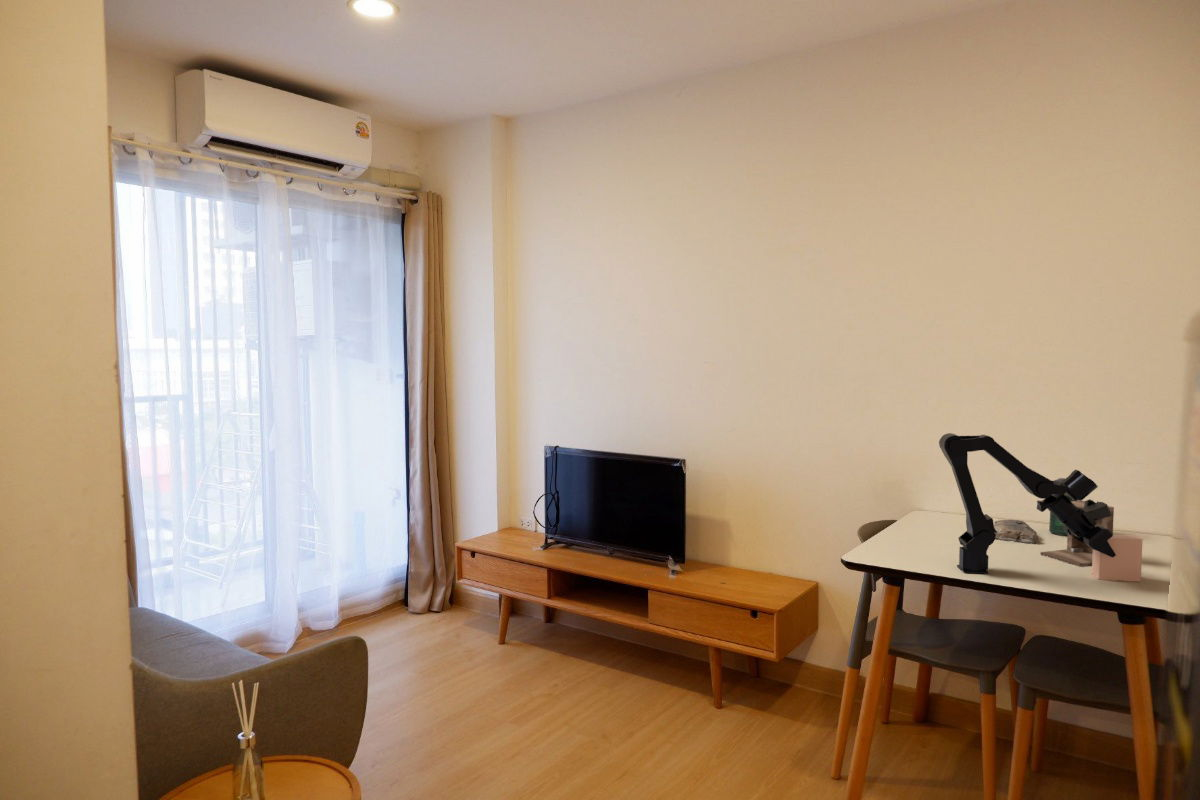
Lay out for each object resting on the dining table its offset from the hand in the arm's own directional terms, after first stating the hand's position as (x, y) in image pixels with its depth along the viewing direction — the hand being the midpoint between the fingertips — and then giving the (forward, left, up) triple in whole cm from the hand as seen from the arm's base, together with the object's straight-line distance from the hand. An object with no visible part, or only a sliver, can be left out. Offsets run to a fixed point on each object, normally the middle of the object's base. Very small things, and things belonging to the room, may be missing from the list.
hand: (1110, 553), depth 203 cm
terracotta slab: (+2, 0, -7) cm, 7 cm away
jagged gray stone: (-6, +47, -7) cm, 48 cm away
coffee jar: (+12, +52, -7) cm, 54 cm away
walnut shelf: (+1, +20, -7) cm, 21 cm away
